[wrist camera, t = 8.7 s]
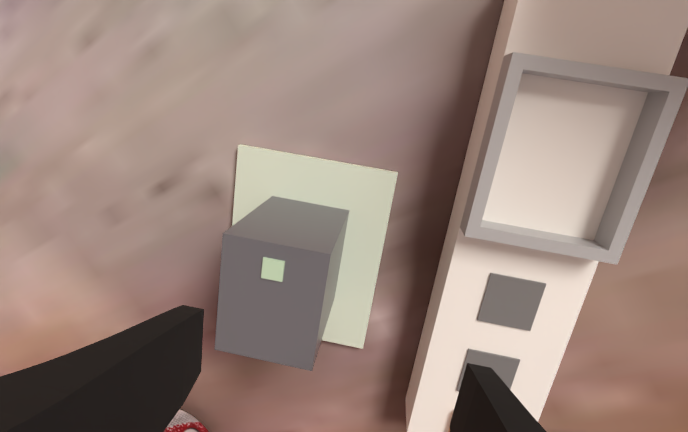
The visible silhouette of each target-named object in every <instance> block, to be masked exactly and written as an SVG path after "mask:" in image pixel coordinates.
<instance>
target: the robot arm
mask: <svg viewBox="0 0 688 432" xmlns="http://www.w3.org/2000/svg"><path fill="white" fill-rule="evenodd" d="M203 315H204V309H199V308H194V307H189V306H184V305H182V306H179V307H177V308H174V309H172V310H169V311H167V312H165V313H162V314H160V315H158V316H155V317H153V318H151V319H149V320H147V321H144V322H142V323H140V324H138V325H135V326H133V327H131V328H129V329H126V330H124V331H122V332H120V333H117V334H115V335H113V336H111V337H108V338H106V339H103V340H101V341H98V342H96V343H93V344H91V345H88V346H86V347H83V348H81V349H78V350H76V351H73V352H71V353H69V354H66V355H63V356H61V357H58V358H55V359H53V360H50V361H47V362H44V363H41V364H38V365H35V366H32V367H29V368H26V369H23V370H20V371H17V372H14V373H11V374H7V375H4V376H1V377H0V432H164V430H165V429H166V427H167V426H168V425H169V423H170V422H171V420H172V419H173V418H174V416H175V415H176V413H177V412H178V411H179V409H180V408H181V406H182V405H183V403H184V401H185V400H186V398H187V396H188V394H189V393H190V391H191V389H192V387H193V385H194V383H195V382H196V380H197V378H198V376H199V374H200V372H201V359H202V337H203ZM450 432H546V431H545V430H544V429H543V427H542V426H541V425H540V424H539V423H538V422H537V421H536V420H535V418H534V417H533V416H532V415H531V414H530V413H529V411H528V410H527V409H526V408H525V407H524V406H523V404H522V403H521V402H520V401H519V400H518V398H517V397H516V396H515V395H514V394H513V393H512V391H511V390H510V389H509V388H508V387H507V385H506V384H505V383H504V382H503V381H502V379H501V378H500V377H499V376H498V375H497V374H496V373H495V372H494V370H493V369H492V368H490V367H485V366H480V365H475V364H470V363H467V365H466V369H465V372H464V376H463V379H462V383H461V387H460V390H459V394H458V397H457V401H456V404H455V408H454V411H453V415H452V418H451V422H450Z"/></svg>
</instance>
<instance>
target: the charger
mask: <svg viewBox="0 0 688 432" xmlns="http://www.w3.org/2000/svg"><path fill="white" fill-rule="evenodd" d="M348 216H349V210H345V209H340V208H334V207H329V206H324V205H318V204H313V203H308V202H302V201H297V200H292V199H287V198H281V197H276V196H272V197H270V198H269V199H268V200H266V201H265V202H264V203H262V204H261V205H260V206H258V207H257V208H256V209H254V210H253V211H252V212H250V213H249V214H248V215H246V216H245V217H244V218H242V219H241V220H240V221H238V222H237V223H236V224H234V225H233V226H232V227H230V228H229V229H228V230H226V231H225V232H224V233H223V238H222V253H221V267H220V281H219V295H218V309H217V323H216V338H215V350H219V351H223V352H228V353H232V354H237V355H242V356H246V357H251V358H255V359H260V360H264V361H269V362H273V363H278V364H282V365H287V366H291V367H296V368H300V369H305V370H310V371H312V370H313V366H314V363H315V360H316V357H317V353H318V350H319V347H320V344H321V340H322V337H323V334H324V331H325V327H326V324H327V321H328V318H329V314H330V311H331V308H332V305H333V301H334V298H335V292H336V286H337V281H338V275H339V269H340V263H341V257H342V251H343V245H344V239H345V233H346V228H347V222H348Z"/></svg>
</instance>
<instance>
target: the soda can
mask: <svg viewBox="0 0 688 432" xmlns="http://www.w3.org/2000/svg"><path fill="white" fill-rule="evenodd" d="M164 432H209V431H208V430H207V429H206V428H205V426H204V425H203V424H202V423H201V422H200V421H198V420H197V419H196V418H195V417H194V416H192V415H191V414H189V413H187V412H185V411H183V410H180V409H179V411H178V412H177V413H176V415H175V416H174V418H173V419H172V420H171V422H170V423H169V425H168V426H167V427H166V429H165V430H164Z"/></svg>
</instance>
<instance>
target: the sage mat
mask: <svg viewBox="0 0 688 432" xmlns="http://www.w3.org/2000/svg"><path fill="white" fill-rule="evenodd" d="M397 175H398V172H395V171H389V170H384V169H378V168H372V167H367V166H361V165H355V164H350V163H344V162H338V161H333V160H327V159H321V158H316V157H310V156H304V155H298V154H293V153H287V152H281V151H276V150H270V149H264V148H259V147H253V146H247V145H242V144H241V145H238V153H237V166H236V180H235V193H234V207H233V220H232V226H233V225H234V224H236V223H237V222H238V221H240V220H241V219H242V218H244V217H245V216H246V215H248V214H249V213H250V212H252V211H253V210H254V209H256V208H257V207H258V206H260V205H261V204H262V203H264V202H265V201H266V200H268V199H269V198H270V197H272V196H276V197H281V198H287V199H292V200H297V201H302V202H308V203H313V204H318V205H324V206H329V207H334V208H340V209H345V210H349V216H348V222H347V228H346V233H345V239H344V245H343V251H342V257H341V263H340V269H339V275H338V281H337V286H336V292H335V298H334V301H333V305H332V308H331V311H330V314H329V318H328V321H327V324H326V327H325V331H324V334H323V337H322V340H323V341H328V342H333V343H338V344H342V345H347V346H352V347H356V348H361V349H363V346H364V341H365V336H366V331H367V326H368V321H369V316H370V310H371V305H372V300H373V295H374V290H375V285H376V280H377V275H378V270H379V265H380V260H381V255H382V250H383V245H384V240H385V235H386V230H387V225H388V220H389V215H390V210H391V205H392V200H393V195H394V190H395V185H396V180H397Z"/></svg>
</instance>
